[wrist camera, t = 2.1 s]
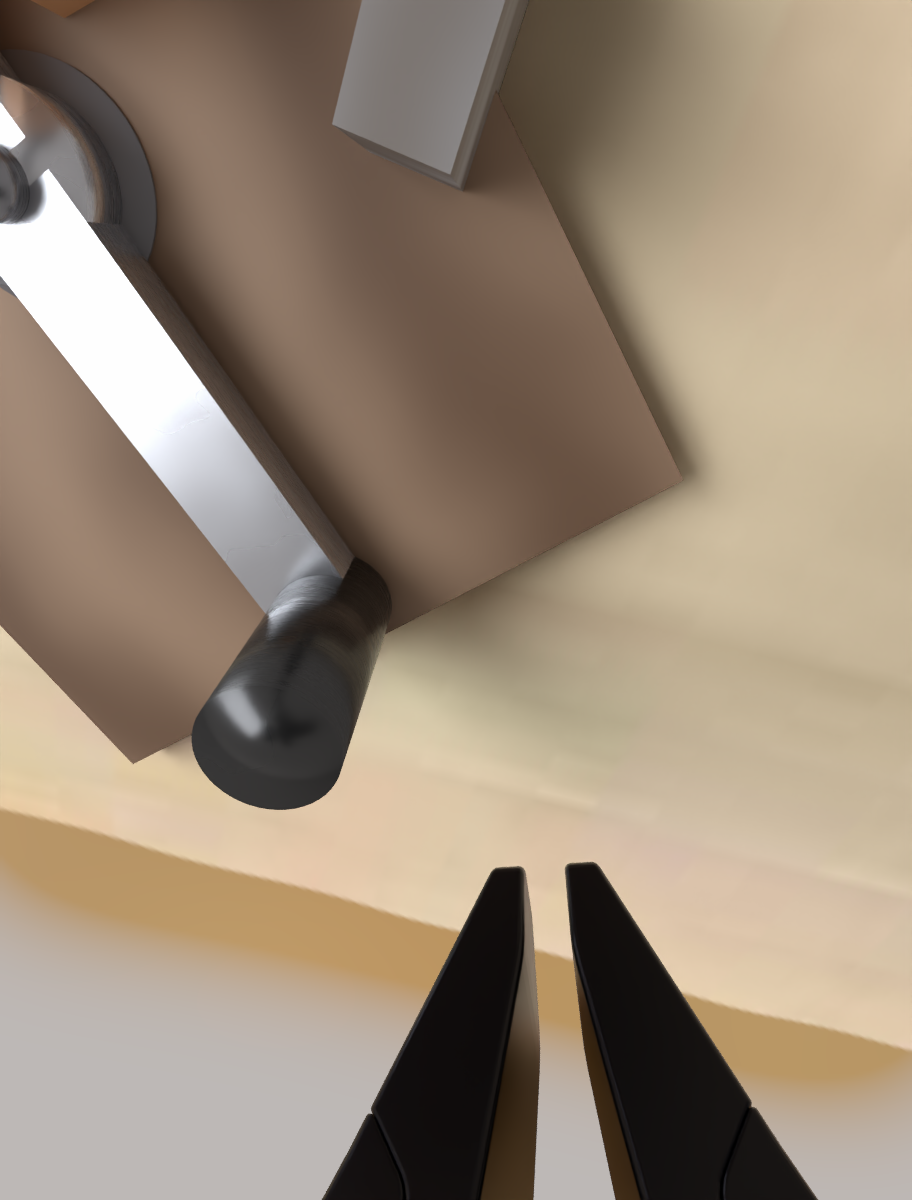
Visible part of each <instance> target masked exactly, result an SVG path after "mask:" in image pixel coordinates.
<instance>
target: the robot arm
mask: <svg viewBox="0 0 912 1200" xmlns="http://www.w3.org/2000/svg"><path fill="white" fill-rule="evenodd" d="M565 877H566V888H567V900H568V911H569V923H570V934H571V943H572V951H573V960H574V968H575V977H576V985H577V994H578V1002H579V1011H580V1019H581V1028H582V1035H583V1043H584V1050H585V1056H586V1061H587V1067H588V1072H589V1077H590V1081H591V1086H592V1090H593V1095H594V1100H595V1105H596V1109H597V1115H598V1119H599V1124H600V1129H601V1133H602V1138H603V1143H604V1148H605V1152H606V1157H607V1162H608V1166H609V1171H610V1176H611V1181H612V1185H613V1190H614V1195H615V1199H616V1200H818V1199H817V1198H816V1196H815V1195H814V1193H813V1192H812V1190H811V1189H810V1187H809V1186H808V1184H807V1183H806V1182H805V1180H804V1179H803V1177H802V1176H801V1174H800V1173H799V1171H798V1170H797V1168H796V1167H795V1165H794V1164H793V1163H792V1161H791V1160H790V1158H789V1157H788V1155H787V1154H786V1152H785V1151H784V1149H783V1148H782V1147H781V1145H780V1144H779V1142H778V1141H777V1139H776V1137H775V1136H774V1134H773V1133H772V1131H771V1130H770V1128H769V1127H768V1125H767V1124H766V1122H765V1121H764V1119H763V1117H762V1116H761V1115H760V1113H759V1111H758V1110H757V1109H756V1108H755V1107H751V1100H750V1098H749V1096H748V1095H747V1093H746V1092H745V1091H744V1089H743V1087H742V1086H741V1084H740V1083H739V1081H738V1079H737V1078H736V1076H735V1075H734V1073H733V1072H732V1070H731V1069H730V1067H729V1066H728V1064H727V1063H726V1061H725V1059H724V1058H723V1056H722V1055H721V1053H720V1052H719V1050H718V1049H717V1047H716V1046H715V1044H714V1042H713V1041H712V1039H711V1038H710V1037H709V1035H708V1033H707V1032H706V1030H705V1029H704V1027H703V1026H702V1024H701V1023H700V1021H699V1019H698V1018H697V1016H696V1015H695V1013H694V1012H693V1010H692V1009H691V1007H690V1005H689V1004H688V1002H687V1001H686V999H685V998H684V997H683V995H682V993H681V992H680V990H679V988H678V987H677V985H676V984H675V982H674V981H673V979H672V978H671V976H670V975H669V973H668V972H667V970H666V968H665V967H664V965H663V964H662V962H661V961H660V959H659V958H658V956H657V955H656V953H655V951H654V950H653V948H652V947H651V945H650V944H649V942H648V941H647V939H646V938H645V936H644V934H643V933H642V931H641V930H640V928H639V927H638V925H637V924H636V922H635V921H634V919H633V918H632V916H631V914H630V913H629V911H628V910H627V908H626V907H625V905H624V904H623V902H622V901H621V899H620V897H619V896H618V894H617V893H616V891H615V890H614V888H613V887H612V885H611V884H610V882H609V881H608V879H607V877H606V876H605V874H604V873H603V871H602V870H601V868H600V867H599V866H598V865H597V864H596V863H594V862H583V863H569V864H567V865H566V867H565ZM539 1069H540V1036H539V1016H538V1001H537V985H536V970H535V953H534V937H533V923H532V913H531V906H530V899H529V892H528V886H527V879H526V873H525V870H524V869H523V868H522V867H520V866H516V867H500V868H495V869H494V870H493V871H492V872H491V873H490V875H489V877H488V879H487V881H486V883H485V885H484V887H483V889H482V891H481V893H480V895H479V897H478V899H477V901H476V903H475V905H474V907H473V908H472V910H471V912H470V914H469V916H468V918H467V920H466V922H465V924H464V926H463V928H462V930H461V932H460V934H459V936H458V938H457V940H456V942H455V944H454V946H453V948H452V950H451V952H450V954H449V956H448V958H447V960H446V962H445V964H444V965H443V968H442V969H441V971H440V973H439V975H438V977H437V979H436V981H435V983H434V985H433V987H432V989H431V991H430V993H429V995H428V997H427V999H426V1001H425V1003H424V1005H423V1007H422V1009H421V1010H420V1012H419V1014H418V1016H417V1018H416V1020H415V1022H414V1024H413V1026H412V1028H411V1030H410V1032H409V1034H408V1036H407V1038H406V1040H405V1042H404V1044H403V1046H402V1048H401V1050H400V1052H399V1054H398V1056H397V1058H396V1060H395V1061H394V1063H393V1066H392V1067H391V1069H390V1071H389V1073H388V1075H387V1077H386V1079H385V1081H384V1083H383V1085H382V1087H381V1089H380V1091H379V1093H378V1095H377V1097H376V1099H375V1101H374V1103H373V1105H372V1107H371V1111H372V1114H368V1115H367V1116H366V1118H365V1120H364V1122H363V1124H362V1126H361V1128H360V1129H359V1131H358V1133H357V1136H356V1138H355V1139H354V1141H353V1143H352V1145H351V1147H350V1149H349V1151H348V1153H347V1155H346V1157H345V1158H344V1160H343V1162H342V1164H341V1166H340V1168H339V1169H338V1171H337V1173H336V1175H335V1177H334V1179H333V1180H332V1182H331V1184H330V1186H329V1188H328V1189H327V1191H326V1194H325V1195H324V1197H323V1199H322V1200H533V1197H534V1176H535V1155H536V1135H537V1114H538V1094H539V1073H540V1070H539Z"/></svg>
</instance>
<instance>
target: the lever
mask: <svg viewBox="0 0 912 1200" xmlns="http://www.w3.org/2000/svg"><path fill="white" fill-rule="evenodd" d="M122 213H123V212H122V195H121V188H120V184H119V180H118V176H117V172H116V170H115V167H114V164H113V161H112V159H111V157H110V155H109V153H108V151H107V149H106V147H105V145H104V144H103V142H102V140H101V139H100V137H99V135H98V134H97V133H96V132H95V130H94V129H93V128H92V126H91V125H90V124H89V123H88V122H87V121H86V120H85V118H84V117H83V116H82V115H81V114H80V113H79V112H77V111H76V110H75V109H74V108H73V107H72V106H70V105H69V104H68V103H66V102H65V101H63V100H62V99H60V98H59V97H57V96H55V95H53V94H51V93H49V92H47V91H45V90H42V89H39V88H36V87H33V86H31V85H28V84H25V83H22V82H21V81H20V79H19V78H18V76H17V75H16V73H15V72H14V71H13V69H12V68H11V66H10V65H9V63H8V62H7V61H6V59H5V58H4V56H3V55H2V53H1V52H0V284H3V285H8V286H9V287H10V288H11V289H12V290H13V292H14V293H15V294H16V295H17V297H18V298H19V299H20V301H21V302H22V303H23V304H24V306H25V307H26V308H27V310H28V311H29V312H30V313H31V315H32V316H33V317H34V318H35V320H36V321H37V322H38V324H39V325H40V326H41V327H42V329H43V330H44V331H45V333H46V334H47V335H48V336H49V338H50V339H51V340H52V341H53V343H54V344H55V345H56V347H57V348H58V349H59V350H60V352H61V353H62V354H63V356H64V357H65V358H66V359H67V361H68V362H69V363H70V364H71V366H72V367H73V368H74V370H75V371H76V372H77V373H78V375H79V376H80V377H81V379H82V380H83V381H84V382H85V384H86V385H87V386H88V387H89V389H90V390H91V391H92V393H93V394H94V395H95V396H96V398H97V399H98V400H99V402H100V403H101V404H102V405H103V407H104V408H105V409H106V410H107V412H108V413H109V414H110V416H111V417H112V418H113V419H114V421H115V422H116V423H117V425H118V426H119V427H120V428H121V430H122V431H123V432H124V433H125V435H126V436H127V437H128V439H129V440H130V441H131V442H132V444H133V445H134V446H135V448H136V449H137V450H138V451H139V453H140V454H141V455H142V456H143V458H144V459H145V460H146V462H147V463H148V464H149V465H150V467H151V468H152V469H153V471H154V472H155V473H156V474H157V476H158V477H159V478H160V479H161V481H162V482H163V483H164V485H165V486H166V487H167V488H168V490H169V491H170V492H171V494H172V495H173V496H174V497H175V499H176V500H177V501H178V502H179V504H180V505H181V506H182V508H183V509H184V510H185V511H186V513H187V514H188V515H189V517H190V518H191V519H192V520H193V522H194V523H195V524H196V525H197V527H198V528H199V529H200V531H201V532H202V533H203V534H204V536H205V537H206V538H207V540H208V541H209V542H210V543H211V545H212V546H213V547H214V548H215V550H216V551H217V552H218V554H219V555H220V556H221V557H222V559H223V560H224V561H225V563H226V564H227V565H228V566H229V568H230V569H231V570H232V571H233V573H234V574H235V575H236V577H237V578H238V579H239V580H240V582H241V583H242V584H243V586H244V587H245V588H246V589H247V591H248V592H249V593H250V594H251V596H252V597H253V598H254V600H255V601H256V602H257V603H258V605H259V606H260V607H261V609H262V610H263V611H264V612H265V615H264V617H263V618H262V620H261V621H260V623H259V624H258V626H257V627H256V629H255V630H254V632H253V633H252V635H251V636H250V638H249V639H248V641H247V642H246V643H245V645H244V646H243V648H242V649H241V651H240V652H239V654H238V655H237V657H236V658H235V660H234V661H233V663H232V664H231V666H230V667H229V669H228V670H227V672H226V673H225V675H224V676H223V678H222V679H221V681H220V682H219V684H218V685H217V687H216V688H215V690H214V691H213V693H212V694H211V696H210V697H209V698H208V700H207V701H206V703H205V704H204V706H203V707H202V709H201V710H200V712H199V714H198V715H197V717H196V719H195V722H194V725H193V729H192V747H193V751H194V755H195V758H196V760H197V762H198V764H199V766H200V768H201V769H202V771H203V772H204V774H205V775H206V776H207V777H208V778H209V780H210V781H211V782H212V783H213V784H215V785H216V786H217V787H218V788H219V789H221V790H222V791H223V792H225V793H226V794H228V795H229V796H231V797H233V798H235V799H237V800H239V801H241V802H243V803H246V804H249V805H252V806H255V807H259V808H265V809H274V810H287V809H295V808H299V807H303V806H306V805H308V804H311V803H313V802H315V801H317V800H319V799H320V798H322V797H323V796H324V795H326V794H327V793H328V792H329V791H330V790H331V789H332V787H333V786H334V784H335V783H336V781H337V779H338V777H339V775H340V772H341V769H342V766H343V762H344V759H345V756H346V753H347V750H348V747H349V744H350V741H351V738H352V735H353V731H354V728H355V725H356V722H357V719H358V716H359V713H360V710H361V707H362V704H363V700H364V697H365V694H366V691H367V688H368V685H369V682H370V679H371V676H372V673H373V669H374V666H375V663H376V660H377V657H378V654H379V651H380V648H381V645H382V642H383V639H384V635H385V632H386V629H387V626H388V623H389V620H390V617H391V612H392V600H391V595H390V591H389V589H388V586H387V584H386V582H385V581H384V579H383V578H382V576H381V575H380V574H379V573H378V572H377V571H376V570H375V569H374V568H373V567H372V566H371V565H369V564H368V563H366V562H365V561H363V560H361V559H359V558H357V557H354V555H353V554H352V552H351V551H350V549H349V548H348V547H347V545H346V544H345V542H344V541H343V539H342V538H341V537H340V535H339V534H338V532H337V531H336V529H335V528H334V527H333V525H332V524H331V522H330V521H329V519H328V518H327V517H326V515H325V514H324V512H323V511H322V509H321V508H320V507H319V505H318V504H317V502H316V501H315V500H314V498H313V497H312V495H311V494H310V492H309V491H308V490H307V488H306V487H305V485H304V484H303V482H302V481H301V480H300V478H299V477H298V475H297V474H296V472H295V471H294V470H293V468H292V467H291V465H290V464H289V462H288V461H287V460H286V458H285V457H284V455H283V454H282V452H281V451H280V450H279V448H278V447H277V445H276V444H275V443H274V441H273V440H272V438H271V437H270V435H269V434H268V433H267V431H266V430H265V428H264V427H263V425H262V424H261V423H260V421H259V420H258V418H257V417H256V415H255V414H254V413H253V411H252V410H251V408H250V407H249V405H248V404H247V403H246V401H245V400H244V398H243V397H242V395H241V394H240V393H239V391H238V390H237V388H236V387H235V386H234V384H233V383H232V381H231V380H230V378H229V377H228V376H227V374H226V373H225V371H224V370H223V368H222V367H221V366H220V364H219V363H218V361H217V360H216V358H215V357H214V356H213V354H212V353H211V351H210V350H209V348H208V347H207V346H206V344H205V343H204V341H203V340H202V338H201V337H200V336H199V334H198V333H197V331H196V330H195V328H194V327H193V326H192V324H191V323H190V321H189V320H188V319H187V317H186V316H185V314H184V313H183V311H182V310H181V309H180V307H179V306H178V304H177V303H176V301H175V300H174V299H173V297H172V296H171V294H170V293H169V291H168V290H167V289H166V287H165V286H164V284H163V283H162V281H161V280H160V279H159V277H158V276H157V274H156V273H155V271H154V270H153V269H152V267H151V266H150V264H149V263H148V262H147V260H146V259H145V257H144V256H143V254H142V253H141V252H140V250H139V249H138V247H137V246H136V244H135V243H134V242H133V240H132V239H131V237H130V236H129V234H128V233H127V232H126V230H125V229H124V227H123V226H122Z"/></svg>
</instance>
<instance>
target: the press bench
mask: <svg viewBox="0 0 912 1200" xmlns="http://www.w3.org/2000/svg"><path fill="white" fill-rule="evenodd" d="M528 2H529V0H95V1H93V2H91V3H90V4H88V5H86V6H85V7H83V8H81V9H79V10H78V11H76V12H74V13H72V14H71V15H69V16H67V17H66V18H63V17H61V16H59V15H58V14H56V13H54V12H52V11H50V10H48V9H46V8H44V7H43V6H41V5H39V4H37V3H35V2H33V1H31V0H0V52H1V53H2V55H3V56H4V58H5V59H6V61H7V62H8V63H9V65H10V66H11V68H12V69H13V71H14V72H15V73H16V75H17V76H18V78H19V79H20V81H21V82H22V83H25V84H28V85H31V86H33V87H36V88H39V89H42V90H45V91H47V92H49V93H51V94H53V95H55V96H57V97H59V98H60V99H62V100H63V101H65V102H66V103H68V104H69V105H70V106H72V107H73V108H74V109H75V110H76V111H77V112H79V113H80V114H81V115H82V116H83V117H84V118H85V120H86V121H87V122H88V123H89V124H90V125H91V126H92V128H93V129H94V130H95V132H96V133H97V134H98V135H99V137H100V139H101V140H102V142H103V144H104V145H105V147H106V149H107V151H108V153H109V155H110V157H111V159H112V161H113V164H114V167H115V170H116V172H117V176H118V180H119V184H120V188H121V195H122V212H123V213H122V226H123V227H124V229H125V230H126V232H127V233H128V234H129V236H130V237H131V239H132V240H133V242H134V243H135V244H136V246H137V247H138V249H139V250H140V252H141V253H142V254H143V256H144V257H145V259H146V260H147V262H148V263H149V264H150V266H151V267H152V269H153V270H154V271H155V273H156V274H157V276H158V277H159V279H160V280H161V281H162V283H163V284H164V286H165V287H166V289H167V290H168V291H169V293H170V294H171V296H172V297H173V299H174V300H175V301H176V303H177V304H178V306H179V307H180V309H181V310H182V311H183V313H184V314H185V316H186V317H187V319H188V320H189V321H190V323H191V324H192V326H193V327H194V328H195V330H196V331H197V333H198V334H199V336H200V337H201V338H202V340H203V341H204V343H205V344H206V346H207V347H208V348H209V350H210V351H211V353H212V354H213V356H214V357H215V358H216V360H217V361H218V363H219V364H220V366H221V367H222V368H223V370H224V371H225V373H226V374H227V376H228V377H229V378H230V380H231V381H232V383H233V384H234V386H235V387H236V388H237V390H238V391H239V393H240V394H241V395H242V397H243V398H244V400H245V401H246V403H247V404H248V405H249V407H250V408H251V410H252V411H253V413H254V414H255V415H256V417H257V418H258V420H259V421H260V423H261V424H262V425H263V427H264V428H265V430H266V431H267V433H268V434H269V435H270V437H271V438H272V440H273V441H274V443H275V444H276V445H277V447H278V448H279V450H280V451H281V452H282V454H283V455H284V457H285V458H286V460H287V461H288V462H289V464H290V465H291V467H292V468H293V470H294V471H295V472H296V474H297V475H298V477H299V478H300V480H301V481H302V482H303V484H304V485H305V487H306V488H307V490H308V491H309V492H310V494H311V495H312V497H313V498H314V500H315V501H316V502H317V504H318V505H319V507H320V508H321V509H322V511H323V512H324V514H325V515H326V517H327V518H328V519H329V521H330V522H331V524H332V525H333V527H334V528H335V529H336V531H337V532H338V534H339V535H340V537H341V538H342V539H343V541H344V542H345V544H346V545H347V547H348V548H349V549H350V551H351V552H352V554H353V555H354V557H357V558H359V559H361V560H363V561H365V562H366V563H368V564H369V565H371V566H372V567H373V568H374V569H375V570H376V571H377V572H378V573H379V574H380V575H381V576H382V578H383V579H384V581H385V582H386V584H387V586H388V589H389V591H390V595H391V600H392V612H391V617H390V620H389V623H388V626H387V629H386V632H385V634H386V633H388V632H390V631H392V630H394V629H396V628H398V627H400V626H402V625H404V624H406V623H408V622H409V621H411V620H413V619H415V618H417V617H419V616H421V615H423V614H425V613H427V612H429V611H431V610H433V609H435V608H437V607H439V606H441V605H442V604H444V603H446V602H448V601H450V600H452V599H454V598H456V597H458V596H460V595H462V594H464V593H466V592H468V591H470V590H472V589H473V588H475V587H477V586H479V585H481V584H483V583H485V582H487V581H489V580H491V579H493V578H495V577H497V576H499V575H501V574H503V573H505V572H506V571H508V570H510V569H512V568H514V567H516V566H518V565H520V564H522V563H524V562H526V561H528V560H530V559H532V558H534V557H536V556H537V555H539V554H541V553H543V552H545V551H547V550H549V549H551V548H553V547H555V546H557V545H559V544H561V543H563V542H565V541H567V540H569V539H570V538H572V537H574V536H576V535H578V534H580V533H582V532H584V531H586V530H588V529H590V528H592V527H594V526H596V525H598V524H600V523H602V522H603V521H605V520H607V519H609V518H611V517H613V516H615V515H617V514H619V513H621V512H623V511H625V510H627V509H629V508H631V507H633V506H634V505H636V504H638V503H640V502H642V501H644V500H646V499H648V498H650V497H652V496H654V495H656V494H658V493H660V492H662V491H664V490H666V489H667V488H669V487H671V486H673V485H675V484H677V483H679V482H681V481H683V478H682V476H681V474H680V472H679V470H678V468H677V466H676V464H675V462H674V460H673V458H672V455H671V453H670V451H669V449H668V447H667V445H666V443H665V441H664V439H663V437H662V435H661V433H660V430H659V428H658V426H657V424H656V422H655V420H654V418H653V416H652V414H651V412H650V410H649V408H648V405H647V403H646V401H645V399H644V397H643V395H642V393H641V391H640V389H639V387H638V385H637V383H636V380H635V378H634V376H633V374H632V372H631V370H630V368H629V366H628V364H627V362H626V360H625V358H624V355H623V353H622V351H621V349H620V347H619V345H618V343H617V341H616V339H615V337H614V335H613V333H612V330H611V328H610V326H609V324H608V322H607V320H606V318H605V316H604V314H603V312H602V310H601V308H600V306H599V303H598V301H597V299H596V297H595V295H594V293H593V291H592V289H591V287H590V285H589V283H588V281H587V278H586V276H585V274H584V272H583V270H582V268H581V266H580V264H579V262H578V260H577V258H576V256H575V253H574V251H573V249H572V247H571V245H570V243H569V241H568V239H567V237H566V235H565V233H564V231H563V228H562V226H561V224H560V222H559V220H558V218H557V216H556V214H555V212H554V210H553V208H552V206H551V203H550V201H549V199H548V197H547V195H546V193H545V191H544V189H543V187H542V185H541V183H540V181H539V178H538V176H537V174H536V172H535V170H534V168H533V166H532V164H531V162H530V160H529V158H528V156H527V153H526V151H525V149H524V147H523V145H522V143H521V141H520V139H519V137H518V135H517V133H516V131H515V129H514V126H513V124H512V122H511V120H510V118H509V116H508V114H507V112H506V110H505V108H504V106H503V104H502V101H501V99H500V97H499V95H498V94H499V91H500V88H501V85H502V82H503V79H504V76H505V73H506V69H507V66H508V63H509V60H510V57H511V54H512V51H513V48H514V45H515V42H516V39H517V36H518V33H519V30H520V27H521V24H522V21H523V18H524V15H525V11H526V8H527V5H528ZM264 615H265V612H264V611H263V610H262V609H261V607H260V606H259V605H258V603H257V602H256V601H255V600H254V598H253V597H252V596H251V594H250V593H249V592H248V591H247V589H246V588H245V587H244V586H243V584H242V583H241V582H240V580H239V579H238V578H237V577H236V575H235V574H234V573H233V571H232V570H231V569H230V568H229V566H228V565H227V564H226V563H225V561H224V560H223V559H222V557H221V556H220V555H219V554H218V552H217V551H216V550H215V548H214V547H213V546H212V545H211V543H210V542H209V541H208V540H207V538H206V537H205V536H204V534H203V533H202V532H201V531H200V529H199V528H198V527H197V525H196V524H195V523H194V522H193V520H192V519H191V518H190V517H189V515H188V514H187V513H186V511H185V510H184V509H183V508H182V506H181V505H180V504H179V502H178V501H177V500H176V499H175V497H174V496H173V495H172V494H171V492H170V491H169V490H168V488H167V487H166V486H165V485H164V483H163V482H162V481H161V479H160V478H159V477H158V476H157V474H156V473H155V472H154V471H153V469H152V468H151V467H150V465H149V464H148V463H147V462H146V460H145V459H144V458H143V456H142V455H141V454H140V453H139V451H138V450H137V449H136V448H135V446H134V445H133V444H132V442H131V441H130V440H129V439H128V437H127V436H126V435H125V433H124V432H123V431H122V430H121V428H120V427H119V426H118V425H117V423H116V422H115V421H114V419H113V418H112V417H111V416H110V414H109V413H108V412H107V410H106V409H105V408H104V407H103V405H102V404H101V403H100V402H99V400H98V399H97V398H96V396H95V395H94V394H93V393H92V391H91V390H90V389H89V387H88V386H87V385H86V384H85V382H84V381H83V380H82V379H81V377H80V376H79V375H78V373H77V372H76V371H75V370H74V368H73V367H72V366H71V364H70V363H69V362H68V361H67V359H66V358H65V357H64V356H63V354H62V353H61V352H60V350H59V349H58V348H57V347H56V345H55V344H54V343H53V341H52V340H51V339H50V338H49V336H48V335H47V334H46V333H45V331H44V330H43V329H42V327H41V326H40V325H39V324H38V322H37V321H36V320H35V318H34V317H33V316H32V315H31V313H30V312H29V311H28V310H27V308H26V307H25V306H24V304H23V303H22V302H21V301H20V299H19V298H18V297H17V295H16V294H15V293H14V292H13V290H12V289H11V288H10V287H9V286H8V285H3V284H0V625H1V626H2V627H3V629H4V630H5V631H6V632H7V633H8V634H9V635H10V636H11V637H12V638H13V639H14V640H15V641H16V642H17V643H18V644H19V645H20V646H21V647H22V648H23V649H24V650H25V652H26V653H27V654H28V655H29V656H30V657H31V658H32V659H33V660H34V661H35V662H36V663H37V664H38V665H39V666H40V667H41V668H42V669H43V670H44V671H45V672H46V673H47V675H48V676H49V677H50V678H51V679H52V680H53V681H54V682H55V683H56V684H57V685H58V686H59V687H60V688H61V689H62V690H63V691H64V692H65V693H66V694H67V695H68V697H69V698H70V699H71V700H72V701H73V702H74V703H75V704H76V705H77V706H78V707H79V708H80V709H81V710H82V711H83V712H84V713H85V714H86V715H87V716H88V717H89V718H90V720H91V721H92V722H93V723H94V724H95V725H96V726H97V727H98V728H99V729H100V730H101V731H102V732H103V733H104V734H105V735H106V736H107V737H108V738H109V739H110V740H111V741H112V743H113V744H114V745H115V746H116V747H117V748H118V749H119V750H120V751H121V752H122V753H123V754H124V755H125V756H126V757H127V758H128V759H129V760H130V761H131V762H132V763H133V764H134V763H136V762H138V761H140V760H142V759H144V758H146V757H148V756H150V755H152V754H153V753H155V752H157V751H159V750H161V749H163V748H165V747H167V746H169V745H171V744H173V743H175V742H177V741H179V740H181V739H183V738H184V737H186V736H188V735H190V734H192V729H193V725H194V722H195V719H196V717H197V715H198V714H199V712H200V710H201V709H202V707H203V706H204V704H205V703H206V701H207V700H208V698H209V697H210V696H211V694H212V693H213V691H214V690H215V688H216V687H217V685H218V684H219V682H220V681H221V679H222V678H223V676H224V675H225V673H226V672H227V670H228V669H229V667H230V666H231V664H232V663H233V661H234V660H235V658H236V657H237V655H238V654H239V652H240V651H241V649H242V648H243V646H244V645H245V643H246V642H247V641H248V639H249V638H250V636H251V635H252V633H253V632H254V630H255V629H256V627H257V626H258V624H259V623H260V621H261V620H262V618H263V617H264Z"/></svg>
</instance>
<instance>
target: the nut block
mask: <svg viewBox="0 0 912 1200" xmlns="http://www.w3.org/2000/svg"><path fill="white" fill-rule="evenodd" d="M31 1H33V2H35V3H37V4H39V5H41V6H43V7H44V8H46V9H48V10H50V11H52V12H54V13H56V14H58V15H59V16H61V17H63V18H66V17H67V16H69V15H71V14H72V13H74V12H76V11H78V10H79V9H81V8H83V7H85V6H86V5H88V4H90V3H91V2H93V1H95V0H31Z"/></svg>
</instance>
